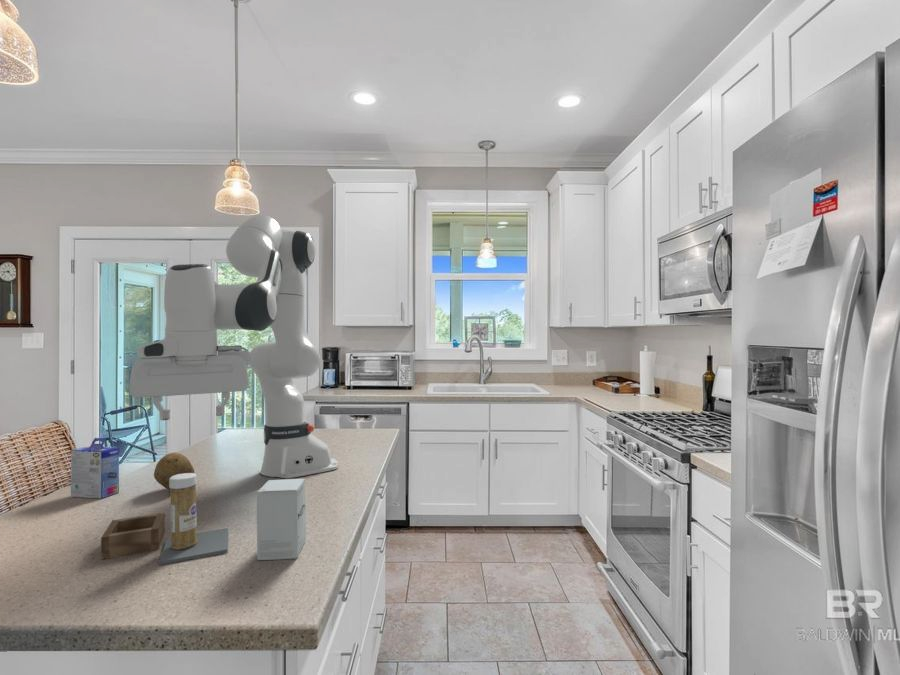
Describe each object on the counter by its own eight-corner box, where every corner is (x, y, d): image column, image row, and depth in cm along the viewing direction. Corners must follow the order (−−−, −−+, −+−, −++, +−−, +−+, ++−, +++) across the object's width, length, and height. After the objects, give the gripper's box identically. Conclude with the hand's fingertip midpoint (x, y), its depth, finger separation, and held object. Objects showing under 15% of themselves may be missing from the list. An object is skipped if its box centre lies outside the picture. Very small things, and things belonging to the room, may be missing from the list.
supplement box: (298, 559, 85) (296, 489, 85) (256, 561, 85) (254, 491, 85) (307, 541, 93) (306, 477, 93) (268, 543, 92) (267, 479, 92)
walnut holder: (164, 531, 98) (164, 512, 98) (158, 549, 90) (158, 528, 90) (112, 540, 94) (112, 520, 94) (101, 559, 86) (101, 537, 86)
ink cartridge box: (121, 492, 124) (120, 437, 124) (101, 499, 119) (100, 442, 118) (90, 490, 126) (89, 436, 126) (69, 497, 121) (68, 441, 120)
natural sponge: (146, 492, 123) (145, 454, 123) (179, 482, 131) (178, 447, 131) (166, 497, 119) (166, 458, 119) (199, 487, 127) (199, 450, 127)
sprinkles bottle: (192, 549, 88) (191, 478, 88) (166, 551, 88) (165, 479, 88) (201, 539, 93) (199, 471, 93) (175, 541, 92) (174, 472, 92)
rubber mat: (227, 530, 98) (227, 527, 98) (227, 552, 88) (227, 549, 88) (167, 541, 94) (167, 538, 94) (159, 565, 84) (159, 561, 84)
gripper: (249, 344, 98) (250, 410, 99) (133, 347, 90) (134, 419, 90) (250, 345, 93) (251, 415, 93) (126, 348, 84) (128, 425, 84)
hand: (193, 417), depth 91 cm, fingers open, 8 cm apart
